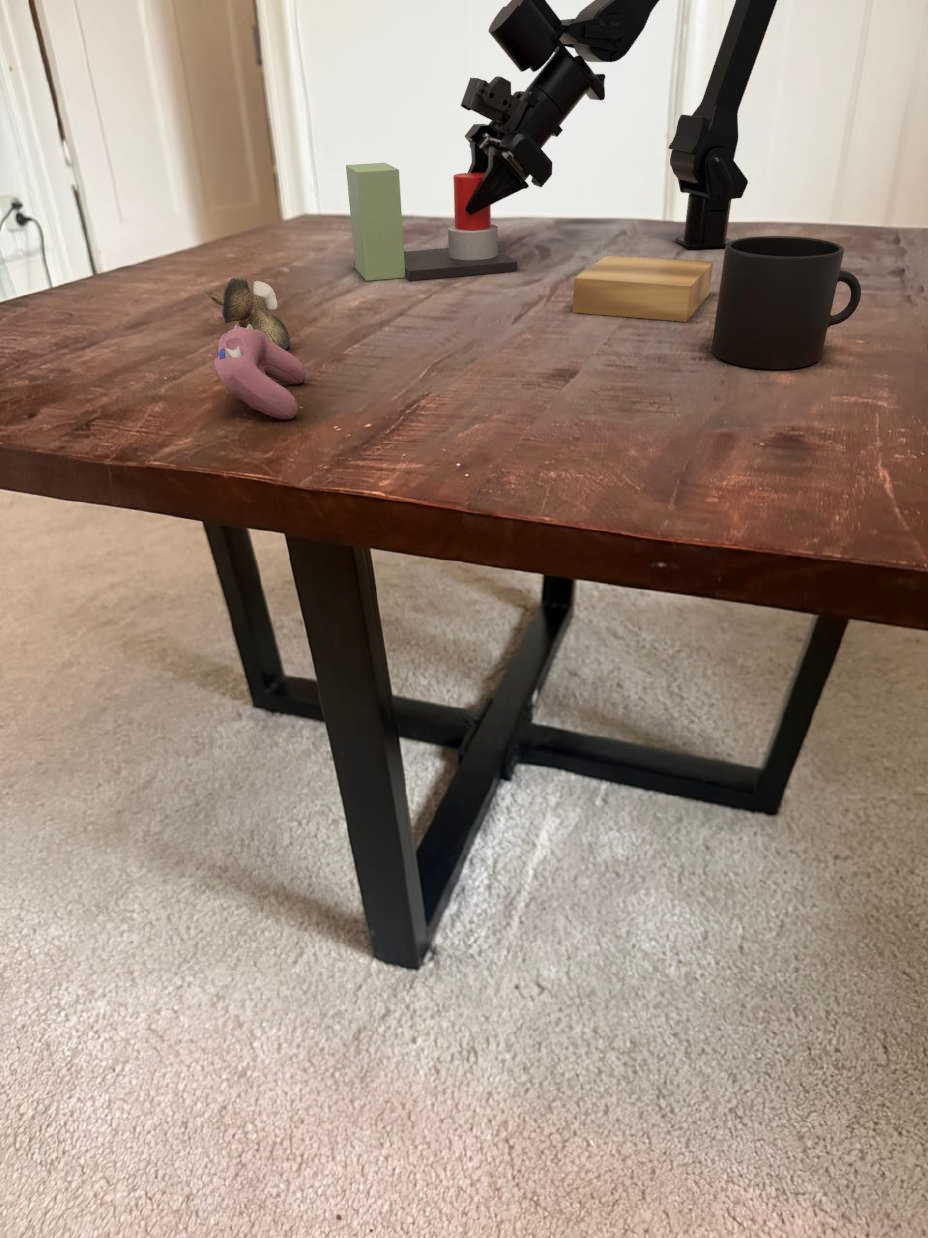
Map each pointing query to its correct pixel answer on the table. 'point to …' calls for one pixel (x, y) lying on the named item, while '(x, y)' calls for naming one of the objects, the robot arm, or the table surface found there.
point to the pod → (462, 194)
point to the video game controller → (258, 371)
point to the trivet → (643, 288)
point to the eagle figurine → (252, 309)
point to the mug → (779, 300)
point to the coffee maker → (383, 235)
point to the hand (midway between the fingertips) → (461, 209)
